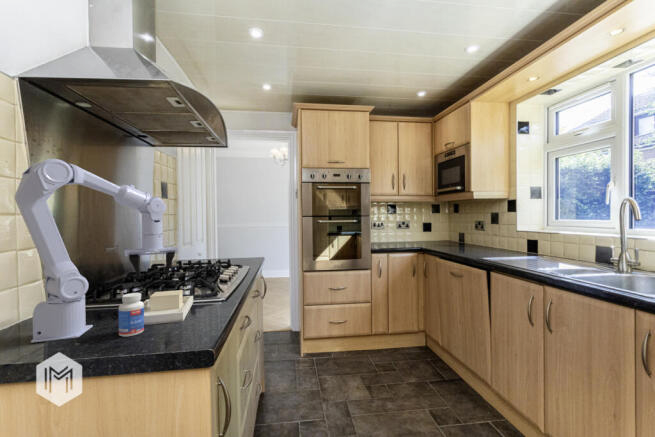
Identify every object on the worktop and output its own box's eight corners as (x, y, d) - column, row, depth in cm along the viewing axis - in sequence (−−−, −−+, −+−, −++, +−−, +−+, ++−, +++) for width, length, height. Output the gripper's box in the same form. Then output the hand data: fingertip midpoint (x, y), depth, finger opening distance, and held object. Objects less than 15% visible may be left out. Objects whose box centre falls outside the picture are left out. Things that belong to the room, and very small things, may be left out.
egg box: (150, 311, 89) (149, 296, 89) (155, 305, 95) (155, 292, 95) (179, 308, 92) (179, 294, 92) (183, 303, 97) (182, 290, 97)
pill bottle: (132, 337, 71) (131, 298, 71) (113, 336, 72) (112, 297, 72) (149, 329, 77) (148, 292, 76) (131, 328, 77) (131, 291, 77)
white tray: (126, 327, 78) (125, 317, 78) (146, 307, 95) (146, 299, 95) (183, 321, 82) (183, 312, 82) (193, 303, 99) (193, 295, 99)
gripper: (122, 236, 85) (123, 282, 86) (178, 234, 92) (178, 277, 92) (126, 235, 92) (127, 278, 92) (178, 233, 98) (178, 273, 98)
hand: (153, 277), depth 92 cm, fingers open, 7 cm apart
